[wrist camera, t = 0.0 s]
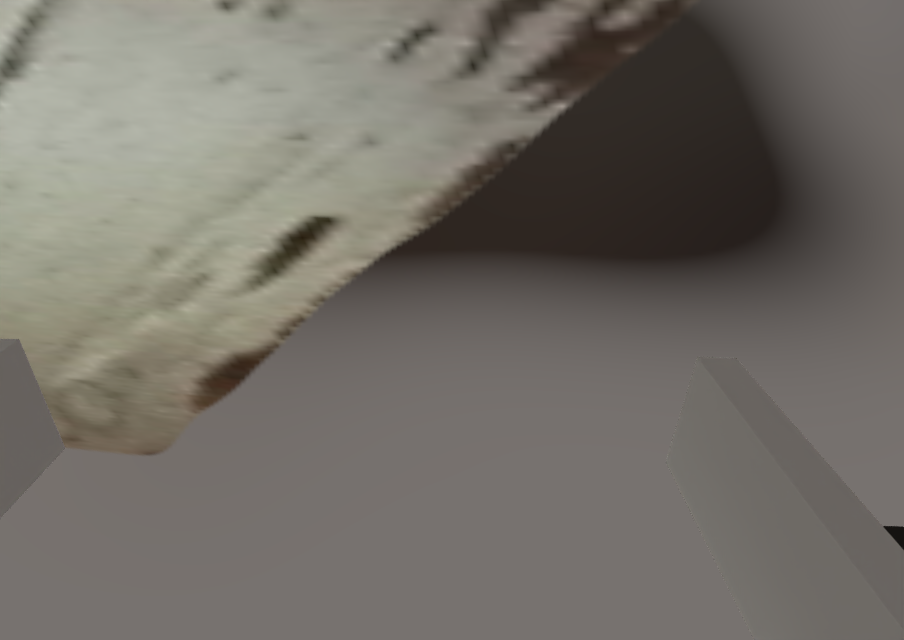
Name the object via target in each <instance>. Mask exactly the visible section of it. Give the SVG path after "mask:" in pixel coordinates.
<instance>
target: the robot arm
mask: <svg viewBox="0 0 904 640" xmlns="http://www.w3.org/2000/svg"><path fill="white" fill-rule="evenodd" d="M64 449H65V446H64V444H63V442H62V439H61V437H60V435H59V432H58V430H57V427H56V425H55V423H54V420H53V418H52V416H51V413H50V411H49V409H48V406H47V404H46V402H45V399H44V397H43V394H42V392H41V390H40V387H39V385H38V383H37V380H36V378H35V376H34V373H33V371H32V368H31V366H30V364H29V361H28V359H27V357H26V354H25V352H24V350H23V347H22V345H21V343H20V340H19V339H0V518H1V517H2V516H3V515H4V514H5V513H6V512H7V511H8V510H9V508H11V506H12V505H13V504H14V503H15V502H16V501H17V500H18V499H19V497H21V496H22V495H23V494H24V492H25V491H26V490H27V489H28V488H29V487H30V486H31V485H32V484H33V483H34V482H35V481H36V479H37V478H38V477H39V476H40V475H41V474H42V473H43V472H44V471H45V469H47V467H49V465H50V464H51V463H52V462H53V461H54V460H55V459H56V458H57V457H58V456H59V455H60V453H61V452H62V451H63V450H64ZM666 464H667V466H668V468H669V470H670V472H671V474H672V476H673V478H674V480H675V482H676V484H677V486H678V488H679V490H680V492H681V494H682V496H683V498H684V500H685V502H686V504H687V506H688V508H689V510H690V512H691V514H692V516H693V518H694V520H695V522H696V524H697V526H698V528H699V530H700V532H701V534H702V536H703V538H704V540H705V542H706V544H707V546H708V548H709V550H710V552H711V554H712V556H713V558H714V560H715V562H716V564H717V566H718V569H719V571H720V573H721V575H722V577H723V579H724V581H725V583H726V584H727V586H728V589H729V591H730V592H731V595H732V597H733V599H734V601H735V603H736V605H737V607H738V609H739V611H740V613H741V615H742V617H743V619H744V621H745V623H746V625H747V627H748V629H749V631H750V633H751V635H752V637H753V639H754V640H904V527H898V526H882V525H881V524H880V523H879V521H878V520H877V519H876V518H875V517H874V516H873V514H872V513H871V512H870V511H869V510H868V509H867V508H866V506H865V505H864V504H863V503H862V502H861V501H860V500H859V499H858V497H857V496H856V495H855V494H854V493H853V492H852V490H851V489H850V488H849V487H848V486H847V485H846V483H845V482H844V481H843V480H842V479H841V478H840V477H839V476H838V474H837V473H836V472H835V471H834V470H833V469H832V467H831V466H830V465H829V464H828V463H827V462H826V461H825V460H824V458H823V457H822V456H821V455H820V454H819V452H818V451H817V450H816V449H815V448H814V447H813V446H812V444H811V443H810V442H809V441H808V440H807V439H806V438H805V436H804V435H803V434H802V433H801V432H800V431H799V430H798V428H797V427H796V426H795V425H794V424H793V423H792V422H791V421H790V419H789V418H788V417H787V416H786V415H785V413H784V412H783V411H782V410H781V409H780V408H779V407H778V405H777V404H776V403H775V402H774V401H773V400H772V399H771V397H770V396H769V395H768V394H767V393H766V392H765V390H764V389H763V388H762V387H761V386H760V385H759V384H758V383H757V381H756V380H755V379H754V378H753V377H752V376H751V375H750V373H749V372H748V371H747V370H746V369H745V368H744V366H743V365H742V364H741V363H740V362H739V361H738V360H737V358H714V357H698V358H697V360H696V364H695V367H694V370H693V374H692V377H691V380H690V384H689V387H688V390H687V394H686V397H685V400H684V403H683V407H682V410H681V413H680V416H679V420H678V423H677V426H676V430H675V433H674V436H673V439H672V443H671V446H670V449H669V453H668V456H667V459H666Z"/></svg>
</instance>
